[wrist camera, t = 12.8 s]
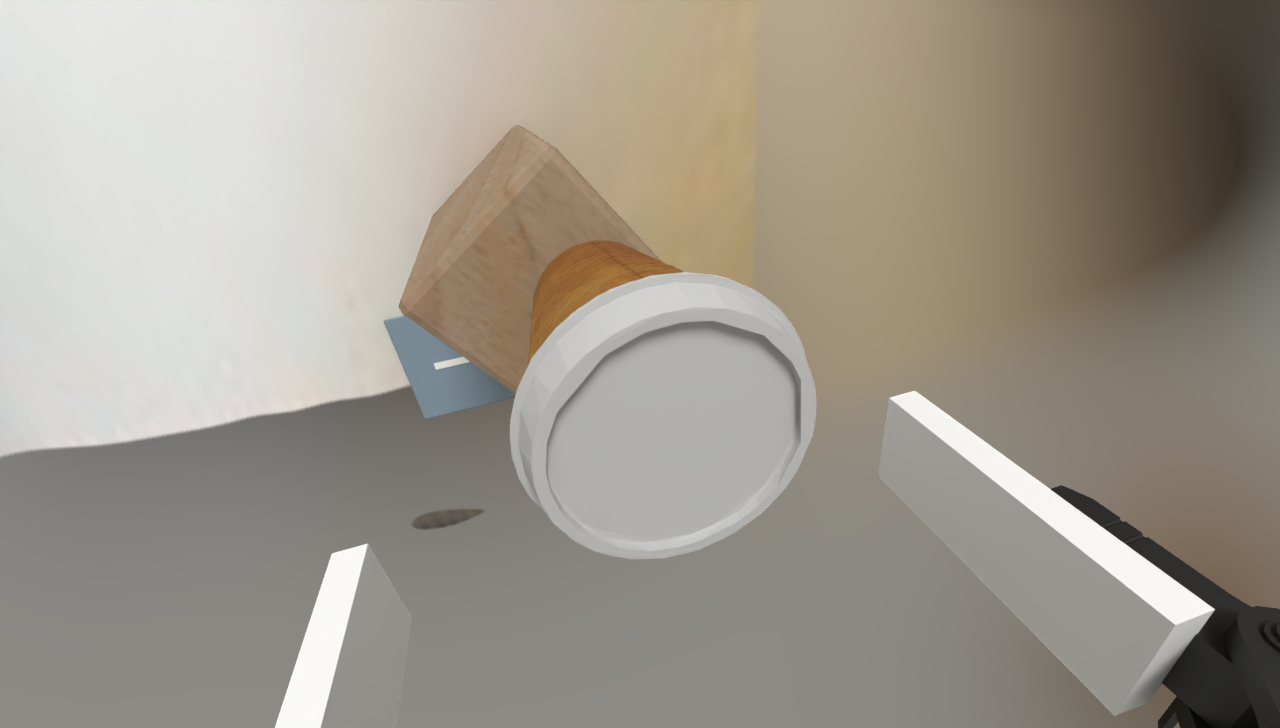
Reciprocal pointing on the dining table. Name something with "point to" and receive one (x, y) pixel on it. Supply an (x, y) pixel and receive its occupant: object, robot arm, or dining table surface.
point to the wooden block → (504, 251)
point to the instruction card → (441, 372)
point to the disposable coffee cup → (656, 403)
